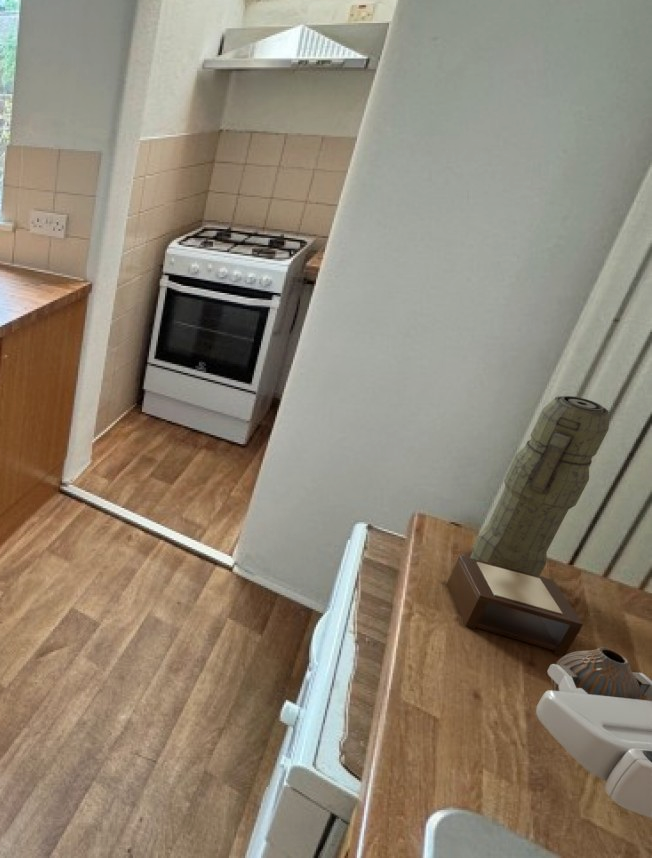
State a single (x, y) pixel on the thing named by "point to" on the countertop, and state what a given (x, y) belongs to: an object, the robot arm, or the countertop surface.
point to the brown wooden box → (513, 604)
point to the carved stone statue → (543, 484)
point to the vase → (601, 673)
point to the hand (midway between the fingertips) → (592, 671)
